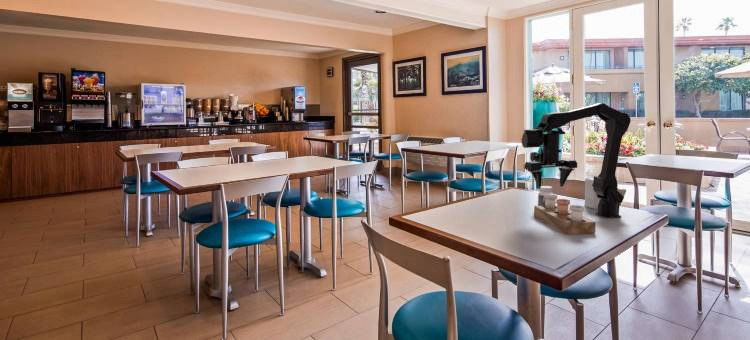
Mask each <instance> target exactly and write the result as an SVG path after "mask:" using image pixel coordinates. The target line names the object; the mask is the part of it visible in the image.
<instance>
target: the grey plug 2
mask: <svg viewBox="0 0 750 340" xmlns="http://www.w3.org/2000/svg"><path fill="white" fill-rule="evenodd" d="M585 208H586V206H585V205H581V204H569V206H568V209H569V210H571V220H570V221H571V222H582V216H584V215H583V212H585Z"/></svg>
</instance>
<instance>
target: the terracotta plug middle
mask: <svg viewBox="0 0 750 340" xmlns="http://www.w3.org/2000/svg"><path fill="white" fill-rule="evenodd" d="M556 205H557V214H558V215H568V209H569V206H570V205H571V200H570V199H567V198H557V199H556Z"/></svg>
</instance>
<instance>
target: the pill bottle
mask: <svg viewBox="0 0 750 340" xmlns="http://www.w3.org/2000/svg"><path fill="white" fill-rule="evenodd" d="M539 190H540V191H539V192H538V193H537V194H538V195H537V206H545V201H546V198H544V194H554V192H552V191H553V186H550V185H541V187H540V188H539Z"/></svg>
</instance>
